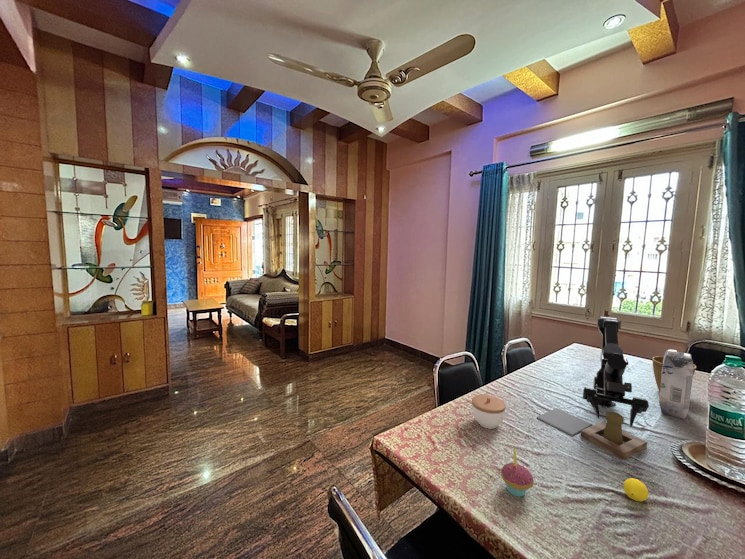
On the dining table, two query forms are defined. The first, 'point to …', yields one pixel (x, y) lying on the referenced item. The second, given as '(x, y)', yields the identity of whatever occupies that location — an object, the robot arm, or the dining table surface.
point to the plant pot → (660, 369)
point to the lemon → (635, 489)
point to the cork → (614, 428)
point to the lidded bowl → (488, 410)
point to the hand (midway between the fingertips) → (614, 422)
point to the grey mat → (564, 421)
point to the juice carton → (676, 383)
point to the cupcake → (516, 478)
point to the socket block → (621, 451)
